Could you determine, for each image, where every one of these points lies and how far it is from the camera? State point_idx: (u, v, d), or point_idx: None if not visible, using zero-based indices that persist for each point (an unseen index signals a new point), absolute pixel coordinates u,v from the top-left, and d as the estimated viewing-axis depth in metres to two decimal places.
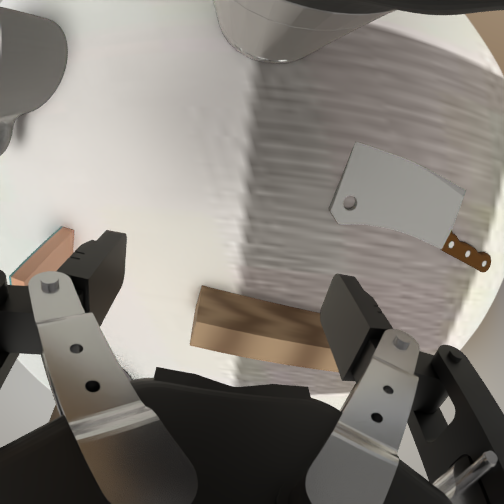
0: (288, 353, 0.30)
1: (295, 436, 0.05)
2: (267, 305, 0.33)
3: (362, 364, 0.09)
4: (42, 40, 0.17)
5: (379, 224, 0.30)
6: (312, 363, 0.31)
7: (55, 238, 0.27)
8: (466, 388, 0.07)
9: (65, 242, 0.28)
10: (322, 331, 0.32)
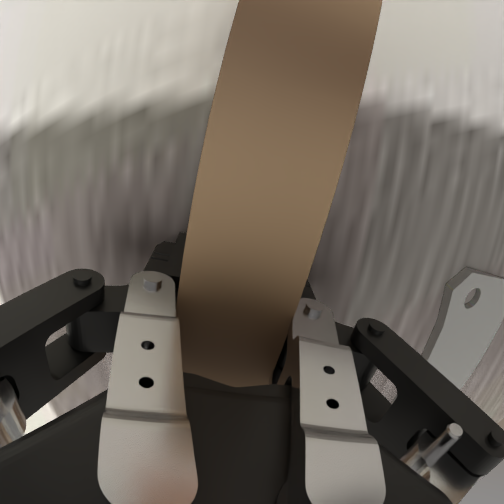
0: (244, 287, 0.08)
1: None
2: None
3: None
4: None
5: (435, 350, 0.17)
6: (194, 366, 0.09)
7: None
8: (401, 363, 0.07)
9: None
10: None
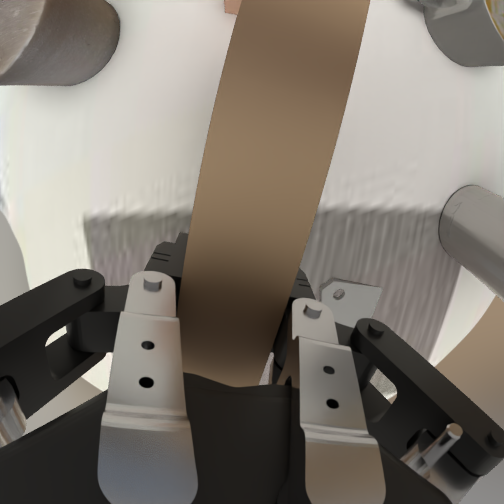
0: (242, 270, 0.09)
1: None
2: None
3: (278, 333, 0.10)
4: (493, 65, 0.21)
5: None
6: (195, 346, 0.10)
7: None
8: (401, 363, 0.07)
9: None
10: None
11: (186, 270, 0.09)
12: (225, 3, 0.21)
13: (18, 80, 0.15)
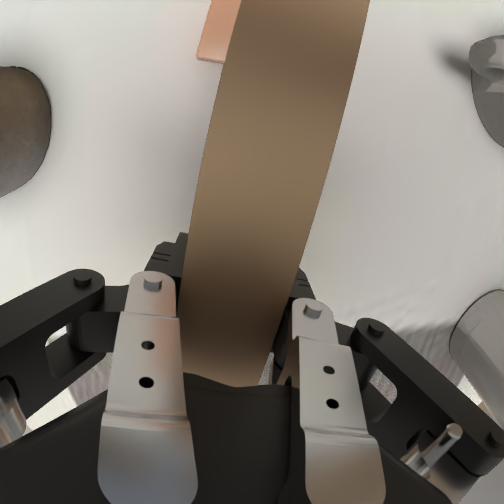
0: (242, 270, 0.09)
1: None
2: None
3: (278, 333, 0.10)
4: None
5: None
6: (195, 346, 0.10)
7: None
8: (401, 363, 0.07)
9: None
10: None
11: (186, 270, 0.09)
12: (209, 14, 0.15)
13: None
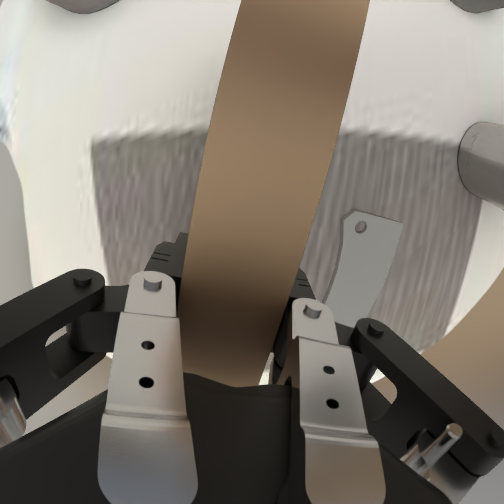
0: (242, 269, 0.09)
1: None
2: None
3: (278, 333, 0.10)
4: (495, 7, 0.18)
5: (342, 258, 0.33)
6: (196, 346, 0.10)
7: None
8: (401, 363, 0.07)
9: None
10: None
11: (186, 270, 0.09)
12: None
13: None
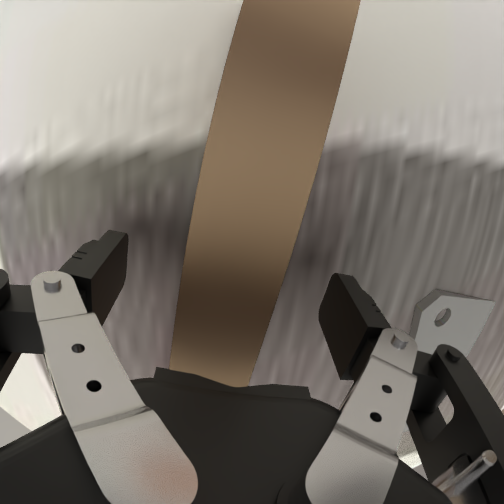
0: (239, 255, 0.09)
1: (295, 436, 0.05)
2: None
3: (360, 363, 0.09)
4: None
5: None
6: (195, 329, 0.10)
7: None
8: (464, 387, 0.07)
9: None
10: None
11: (188, 255, 0.09)
12: None
13: None
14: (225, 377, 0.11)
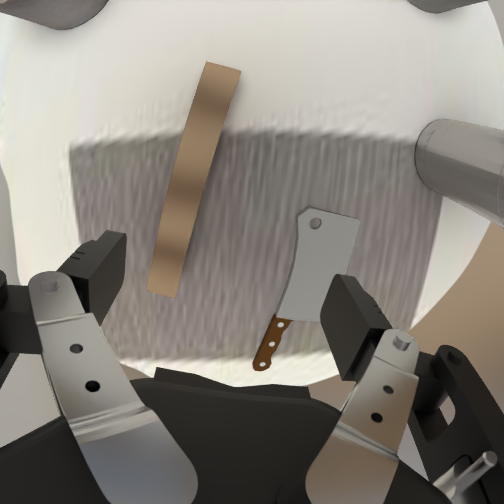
0: (191, 168, 0.27)
1: (295, 436, 0.05)
2: None
3: (362, 364, 0.09)
4: (453, 6, 0.22)
5: (298, 253, 0.36)
6: (174, 197, 0.28)
7: None
8: (466, 388, 0.07)
9: None
10: None
11: (174, 167, 0.26)
12: None
13: (27, 6, 0.15)
14: (183, 223, 0.29)
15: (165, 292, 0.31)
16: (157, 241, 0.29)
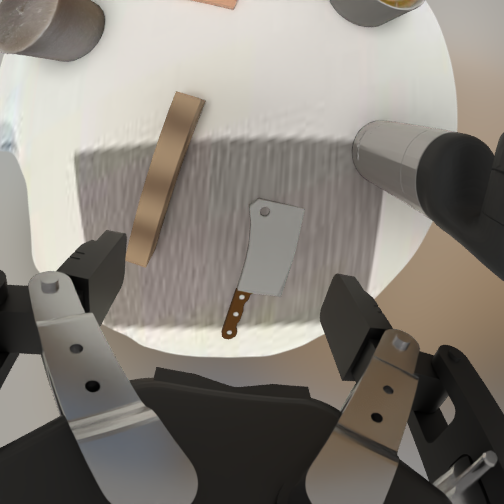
0: (162, 170, 0.36)
1: (295, 436, 0.05)
2: (186, 150, 0.40)
3: (362, 364, 0.09)
4: (383, 20, 0.30)
5: (252, 236, 0.45)
6: (148, 190, 0.37)
7: None
8: (466, 388, 0.07)
9: None
10: (168, 195, 0.40)
11: (149, 168, 0.36)
12: None
13: (38, 51, 0.24)
14: (154, 209, 0.38)
15: (138, 262, 0.40)
16: (134, 222, 0.38)
